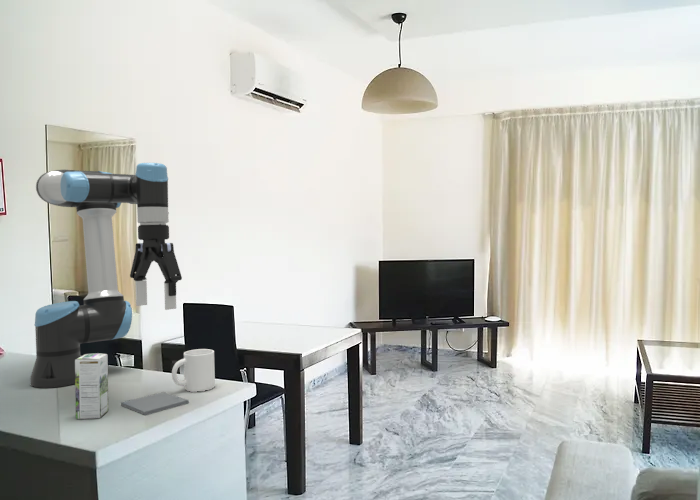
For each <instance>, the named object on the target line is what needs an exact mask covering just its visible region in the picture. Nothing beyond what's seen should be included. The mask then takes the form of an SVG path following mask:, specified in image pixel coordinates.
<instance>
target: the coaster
mask: <svg viewBox="0 0 700 500" xmlns="http://www.w3.org/2000/svg"><path fill="white" fill-rule="evenodd" d="M189 403H190V402H189V399H187V398H183V397H181V396H178V395H175V394H171V393H169V392H166V391H162V392H157V393H154V394H149V395H144V396H142V397H137V398H134V399H130V400H126V401H121V402H120V407H124V408H126V409H129V410H131V411H134V412H137V413H138V414H142V415H143V416H146V415H151V414H154V413H158V412H160V411H165V410H168V409H173V408H176V407H179V406H182V405H186V404H189Z"/></svg>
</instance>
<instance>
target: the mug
mask: <svg viewBox="0 0 700 500" xmlns="http://www.w3.org/2000/svg"><path fill="white" fill-rule="evenodd" d="M182 365H183V373H184V374H183V379H184V380H181V379H179V377H178V374H177V373H178V371H179V370H178V369H179V368H180V367H181V366H182ZM171 369H172V370H171V378H172V379H171V380H172V381H173V382H174V384H175V385H177V386H180V387H181V386H182V387H184V388H185V390H186V391H187V392H189V391H190V392H191V393H198V392H197V391H203V392H206V391H205V390H208V391H210V390H209V389H211V390H213V389H214V388H215V385H216V384H215V383H216V377H215V376H216V375H215V374H216V373H215V370H216V369H215V350H213V349H208V348H198V349H197V348H196V349H191V350H187V351H183V358H181V359H179V360H178V361H176V362H175V363H174V365H173V367H172V368H171ZM212 388H213V389H212Z"/></svg>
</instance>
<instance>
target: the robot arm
mask: <svg viewBox="0 0 700 500" xmlns="http://www.w3.org/2000/svg"><path fill="white" fill-rule="evenodd" d="M135 169H136V170H135V174H129V173H128V174H126V173H112V172H109V171H108V172H106V171H100V170H96V171H95V170H75V169H73V170H72V169H55V170H50V171H48V172H44V173H42V174H41V175H40V176H39V177H38V179H37V180H36V184H35V190H36V194H37V195H38V197H39V198H40V199H41V200H42V201H44V202H46V203H47V204H50V205H52V206H56V207H63V208H76V214H77V215H78V217H80V218H81V219H82V228H83V229H82V230H83V238H84V239H83V241H84V242H83V243H84V253H85V264H86V265H85V266H86V281H87V291H88V293H87V295H86V296H85V297H84V298H83V304H82V305H80V303H79V301H76V300H69V301H61V302H57V303H52V304H48V305H43V306H42V307H39V308H38V309H37V310H36V312H35V318H34V327H35V330H34V331H35V352H36V354H35V355H36V359H35V362H34V364H33V368H32V371H31V374H30V378H29V379H30V380H29V382H30V384H31V385H30V386H31V387H33V386H34V388H40V389H41V388H43V389H47V388H59V387H60V388H61V387H66V386H71V385H75V360H76V359H77V358H79V357H81V356H82V355H81V354H82V353H81V344H88V343H89V344H90V343H95V342H96V343H97V342H102V341H113V340H117V339H122V338H124V337H126V336H127V334H128V333H129V331H130V330H131V329H130V328H131V327H132V326H131V325H132V320H133V311H132V310H133V309H132V305H131V302H129V301H127V300H125V297H124V294H122V293H121V292H120V291H119V287H118V276H117V266H116V265H117V264H116V252H115V239H114V229H113V219H112V218H113V217H114V216H115V214H116V213H117V208H120V206H121V205H122V203H123V204H131V205H136V210H137V211H136V213H137V214H136V215H137V223H138V224H139V225H138V226H137V239H138V240H140V241H142V243H141V242H137V243H136V244H135V251H134V257H133V261H132V265H131V268H130V274H129V277H130V279H133V280H134V282H135V305H136V306H135V307H141V306H148V291H147V290H148V289H147V288H148V287H147V286H148V284H147V280H148V279H147V277H146V276H147V274H148V273H149V269H150V267H151V265H152V263H153V262H155V263H157V265H158V267H159V269H160V271H161V274H162V275H163V277H164V282H163V283H164V284H163V285H164V287H163V288H164V310H165V311H168V310H174V309H177V283H178V281H181V280H182V278H183V276H182V274H181V270H180V267H179V265H178V264H179V263H178V260H177V258H176V257H177V256H176V255H175V250H174V243H173V242H166V240H168V239H170V226H169V225H168V223H169V222H170V221H169V214H170V213H169V184H168V183H169V177H168V167H167V165H165V164H163V163H161V162H160V163H158V162H141V163H138V164H137V165H136V168H135Z"/></svg>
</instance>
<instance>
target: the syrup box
mask: <svg viewBox="0 0 700 500" xmlns="http://www.w3.org/2000/svg"><path fill="white" fill-rule="evenodd" d="M108 360H109V359H108V354H107V353H99V352H97V353H96V352H95V353H84V354H83V355H81V357H79V358H77V359H76V360H75V384H74V386H75V391H74V392H75V419H76V420H89V419H90V420H92V419H100V418H102V417H103V416H104V415H106V413H107V412H108V411H109V373H108V372H109V371H108V369H109V365H108V363H109V362H108Z"/></svg>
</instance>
